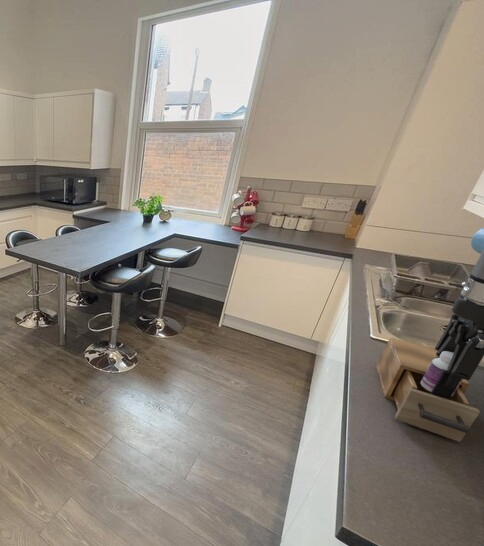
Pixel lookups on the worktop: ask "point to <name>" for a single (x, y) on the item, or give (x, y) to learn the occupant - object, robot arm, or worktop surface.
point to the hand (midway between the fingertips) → (436, 388)
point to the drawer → (432, 408)
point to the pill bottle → (437, 371)
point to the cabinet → (405, 363)
